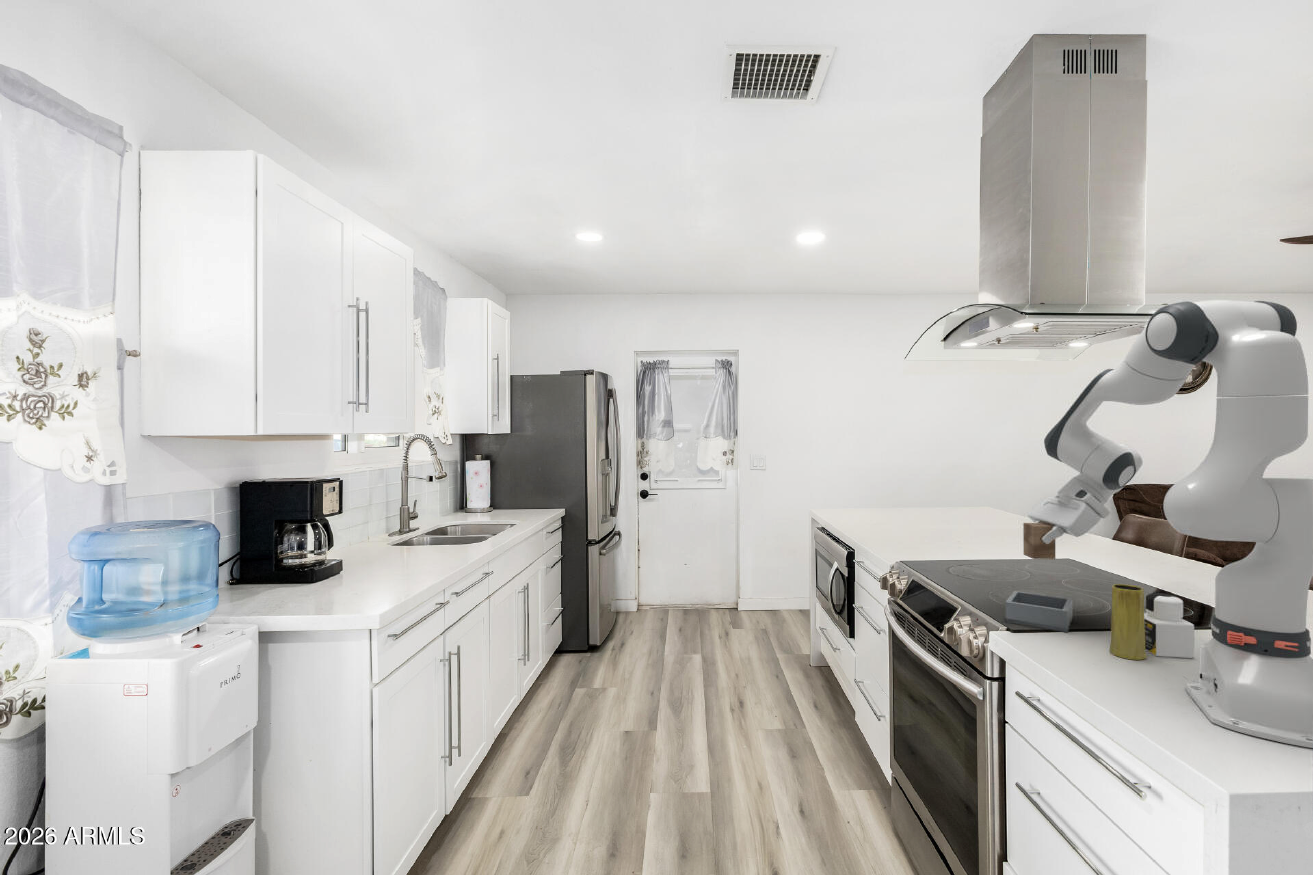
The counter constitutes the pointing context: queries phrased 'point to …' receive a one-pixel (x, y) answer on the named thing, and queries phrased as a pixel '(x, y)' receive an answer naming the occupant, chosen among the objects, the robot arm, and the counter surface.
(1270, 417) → the robot arm
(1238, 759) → the counter surface
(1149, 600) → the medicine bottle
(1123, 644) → the vase
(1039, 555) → the block
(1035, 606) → the bin
